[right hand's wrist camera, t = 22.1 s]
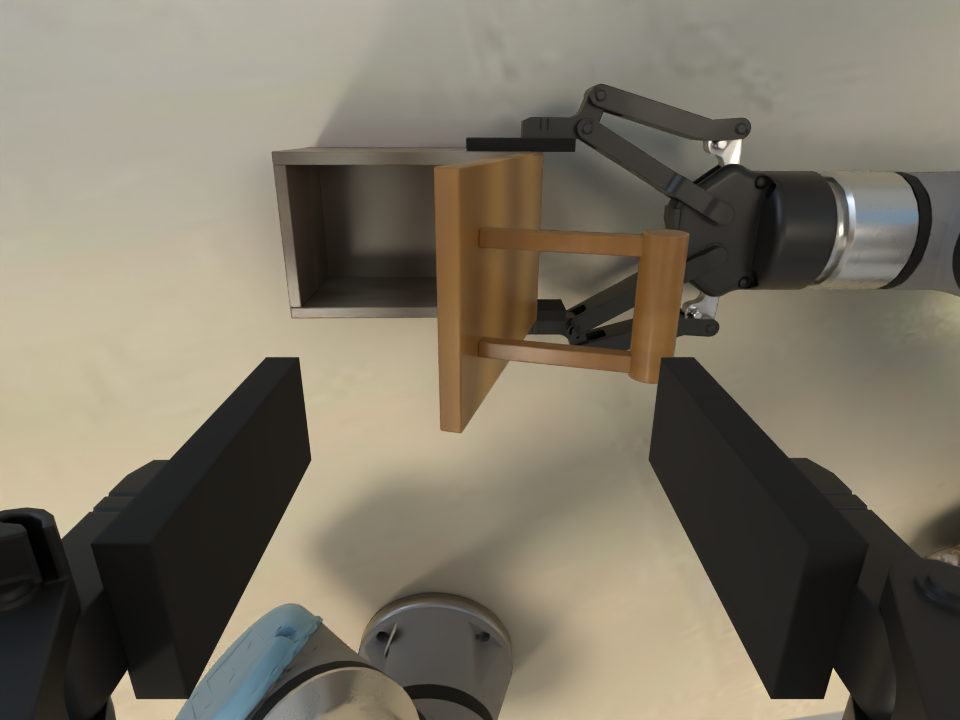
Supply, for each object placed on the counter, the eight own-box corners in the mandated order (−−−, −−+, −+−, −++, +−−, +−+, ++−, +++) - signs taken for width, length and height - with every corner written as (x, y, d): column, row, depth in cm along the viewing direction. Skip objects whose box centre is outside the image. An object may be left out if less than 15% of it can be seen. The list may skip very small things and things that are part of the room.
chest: (322, 284, 45) (290, 318, 37) (309, 147, 42) (271, 151, 33) (517, 283, 46) (529, 317, 37) (520, 147, 42) (534, 151, 34)
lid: (439, 431, 23) (664, 462, 21) (432, 166, 20) (703, 172, 17) (522, 319, 37) (663, 331, 35) (527, 152, 34) (684, 154, 31)
